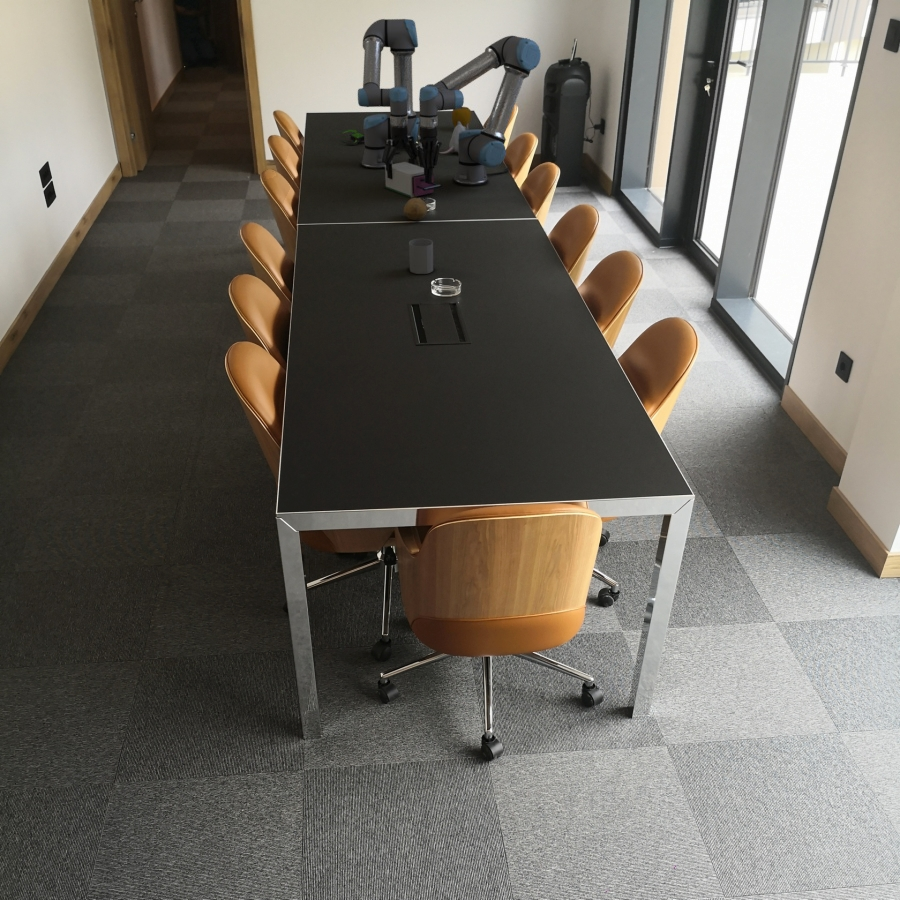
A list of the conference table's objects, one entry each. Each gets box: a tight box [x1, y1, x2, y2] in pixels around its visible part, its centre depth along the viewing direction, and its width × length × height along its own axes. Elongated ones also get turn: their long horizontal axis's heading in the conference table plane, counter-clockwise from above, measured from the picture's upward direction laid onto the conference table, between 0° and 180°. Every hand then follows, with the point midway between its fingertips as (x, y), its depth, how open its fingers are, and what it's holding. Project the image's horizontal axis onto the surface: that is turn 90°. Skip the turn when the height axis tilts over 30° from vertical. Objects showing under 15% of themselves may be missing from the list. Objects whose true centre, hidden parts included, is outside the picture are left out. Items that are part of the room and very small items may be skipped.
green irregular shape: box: [340, 129, 365, 146], centre depth 465 cm, size 6×13×30 cm
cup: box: [408, 237, 434, 275], centre depth 305 cm, size 8×8×10 cm
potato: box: [403, 197, 428, 221], centre depth 354 cm, size 10×14×8 cm
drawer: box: [412, 174, 441, 197], centre depth 385 cm, size 23×10×8 cm, turn 39°
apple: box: [451, 106, 472, 129], centre depth 487 cm, size 11×11×13 cm
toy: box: [439, 121, 470, 155], centre depth 440 cm, size 9×24×15 cm, turn 137°
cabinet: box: [384, 161, 424, 199], centre depth 389 cm, size 19×11×10 cm, turn 39°
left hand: (400, 176), depth 392 cm, fingers closed on cabinet, 11 cm apart
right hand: (428, 183), depth 377 cm, fingers closed
